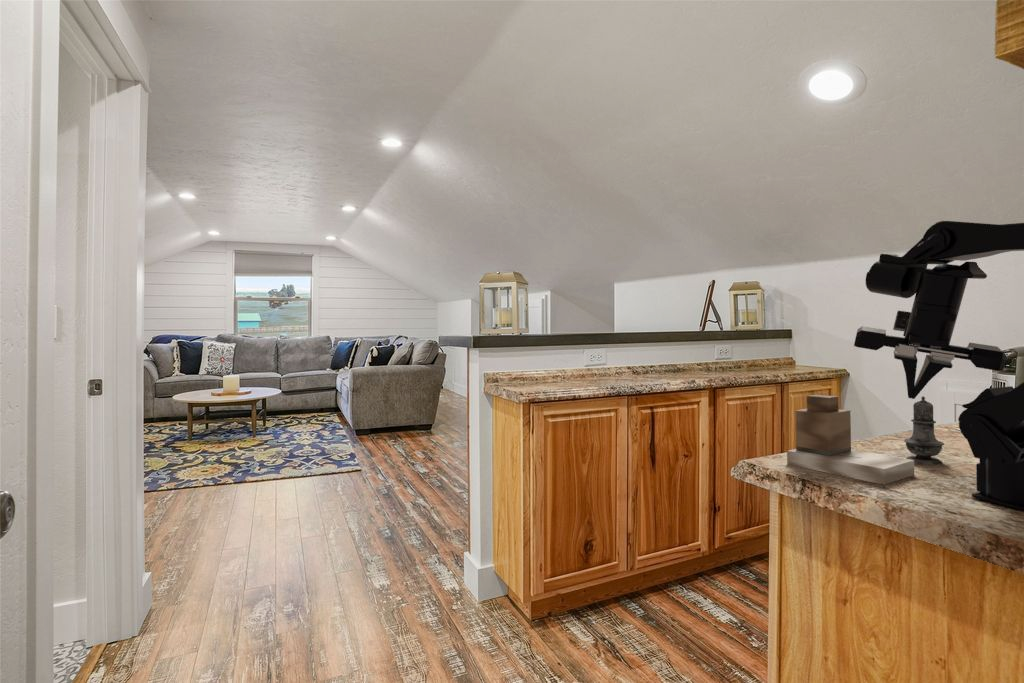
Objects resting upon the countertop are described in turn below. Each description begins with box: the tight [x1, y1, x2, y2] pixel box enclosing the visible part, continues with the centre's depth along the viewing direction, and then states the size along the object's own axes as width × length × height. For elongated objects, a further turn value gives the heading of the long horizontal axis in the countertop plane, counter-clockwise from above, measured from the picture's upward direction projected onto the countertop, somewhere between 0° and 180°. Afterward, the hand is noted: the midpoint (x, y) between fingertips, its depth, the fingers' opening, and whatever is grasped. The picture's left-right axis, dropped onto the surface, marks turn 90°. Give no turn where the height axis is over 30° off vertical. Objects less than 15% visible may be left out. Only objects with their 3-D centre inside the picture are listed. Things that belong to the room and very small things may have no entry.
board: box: [786, 448, 915, 486], centre depth 92 cm, size 16×10×2 cm, turn 30°
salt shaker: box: [903, 395, 945, 466], centre depth 97 cm, size 6×6×12 cm
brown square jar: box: [794, 394, 852, 456], centre depth 96 cm, size 6×7×10 cm
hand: (911, 397), depth 86 cm, fingers closed
